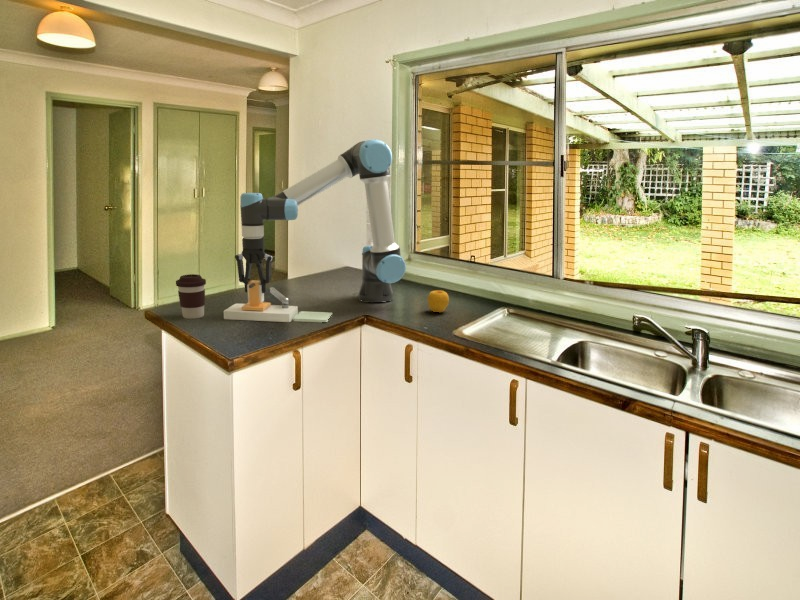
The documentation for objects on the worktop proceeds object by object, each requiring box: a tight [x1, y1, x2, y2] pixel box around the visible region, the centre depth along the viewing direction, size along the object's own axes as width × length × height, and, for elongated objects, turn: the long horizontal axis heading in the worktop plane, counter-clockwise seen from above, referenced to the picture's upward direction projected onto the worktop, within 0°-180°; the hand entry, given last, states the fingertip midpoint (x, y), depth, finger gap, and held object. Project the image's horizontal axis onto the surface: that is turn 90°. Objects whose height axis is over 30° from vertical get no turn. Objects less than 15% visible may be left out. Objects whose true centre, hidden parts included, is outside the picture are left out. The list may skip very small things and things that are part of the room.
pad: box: [292, 310, 333, 323], centre depth 184 cm, size 12×10×1 cm
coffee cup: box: [175, 273, 207, 320], centre depth 181 cm, size 10×10×15 cm
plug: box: [241, 279, 272, 311], centre depth 183 cm, size 8×9×13 cm
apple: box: [427, 289, 450, 313], centre depth 196 cm, size 8×8×9 cm
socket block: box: [223, 302, 299, 323], centre depth 184 cm, size 24×11×4 cm, turn 86°
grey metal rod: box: [269, 286, 290, 305], centre depth 193 cm, size 21×3×2 cm, turn 29°
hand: (256, 301), depth 183 cm, fingers closed on plug, 4 cm apart
